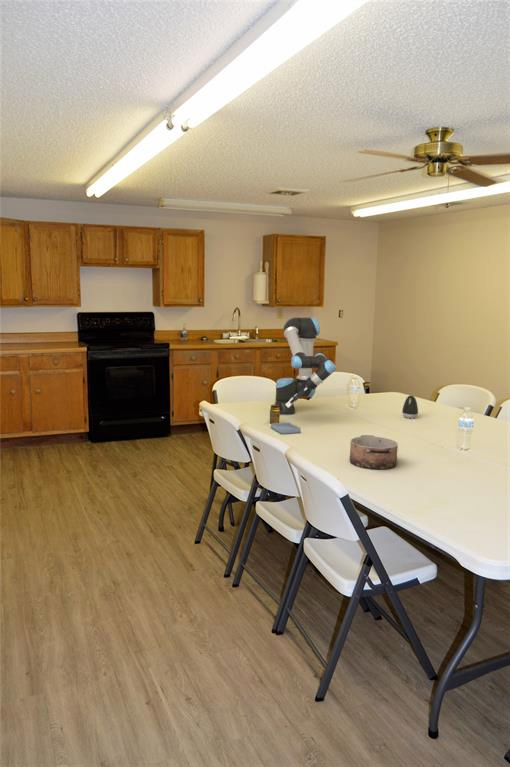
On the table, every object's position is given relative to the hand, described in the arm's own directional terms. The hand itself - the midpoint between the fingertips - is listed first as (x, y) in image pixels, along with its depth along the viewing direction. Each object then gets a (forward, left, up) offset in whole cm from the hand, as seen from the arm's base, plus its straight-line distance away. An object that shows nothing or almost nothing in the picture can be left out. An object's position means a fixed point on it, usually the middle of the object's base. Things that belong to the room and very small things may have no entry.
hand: (288, 404), depth 354 cm
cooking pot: (-6, +84, -14) cm, 85 cm away
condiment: (+7, -6, -14) cm, 17 cm away
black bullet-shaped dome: (-89, +2, -14) cm, 90 cm away
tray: (+7, +12, -13) cm, 20 cm away
